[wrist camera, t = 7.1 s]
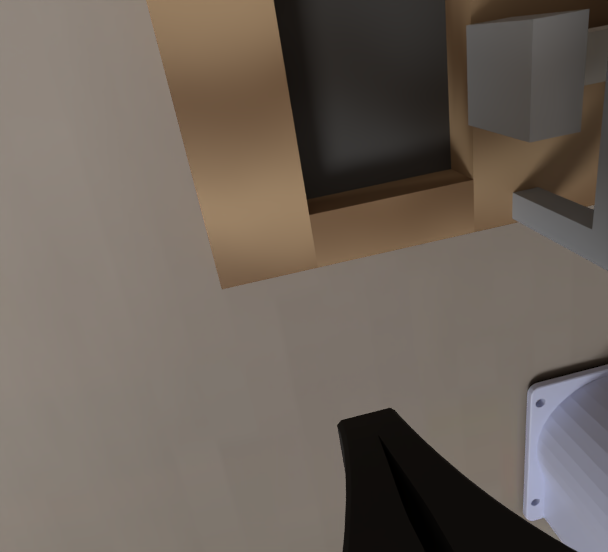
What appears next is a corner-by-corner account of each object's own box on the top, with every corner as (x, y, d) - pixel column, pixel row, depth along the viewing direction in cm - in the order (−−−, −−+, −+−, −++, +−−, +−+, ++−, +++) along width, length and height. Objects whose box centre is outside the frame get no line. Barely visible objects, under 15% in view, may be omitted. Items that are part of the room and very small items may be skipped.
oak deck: (846, 128, 22) (903, 135, 21) (220, 267, 20) (221, 289, 18) (941, -193, 18) (1025, -221, 16) (134, -67, 15) (124, -82, 13)
